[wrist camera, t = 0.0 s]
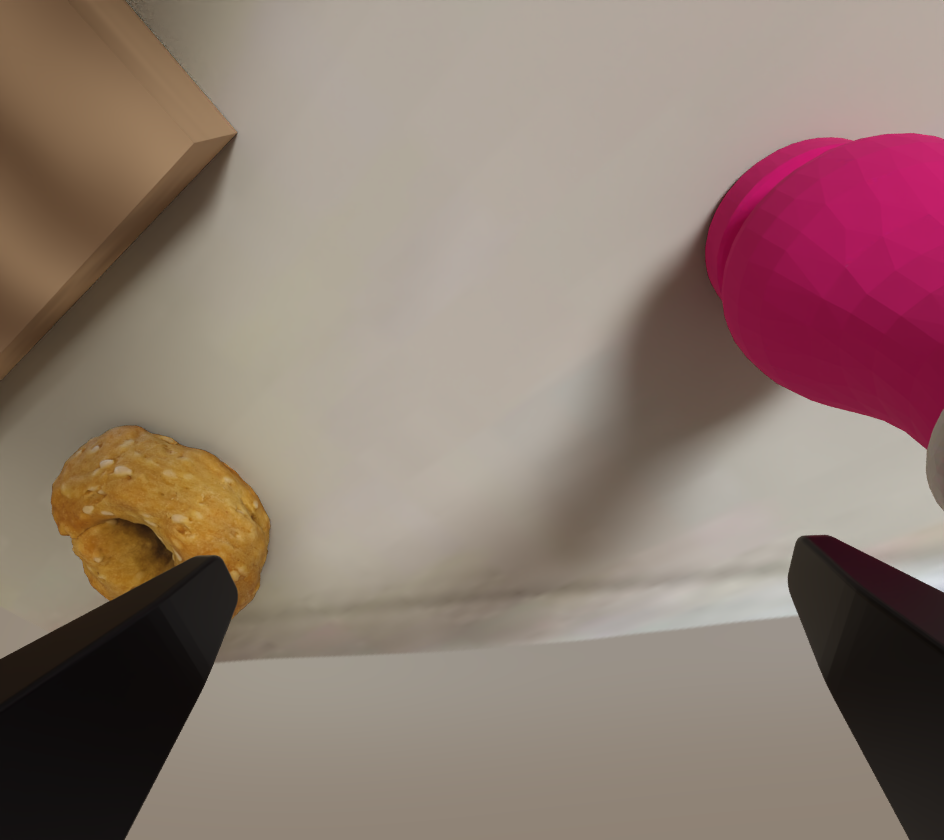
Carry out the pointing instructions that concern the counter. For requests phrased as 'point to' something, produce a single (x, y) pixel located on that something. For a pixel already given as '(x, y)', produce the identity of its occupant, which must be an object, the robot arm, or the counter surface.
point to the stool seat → (85, 151)
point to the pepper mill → (843, 277)
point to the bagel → (157, 512)
